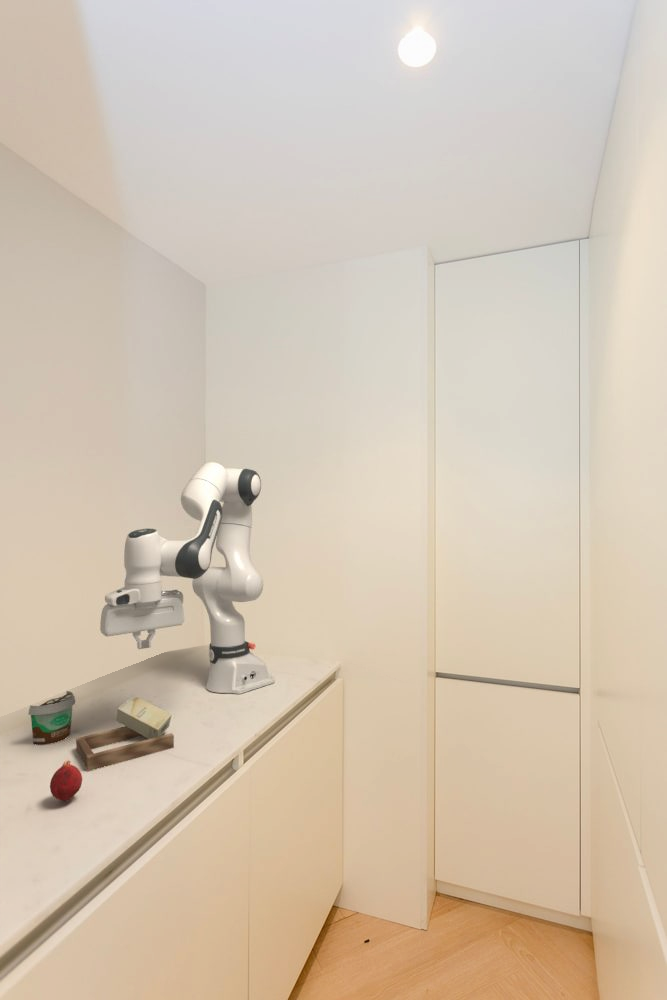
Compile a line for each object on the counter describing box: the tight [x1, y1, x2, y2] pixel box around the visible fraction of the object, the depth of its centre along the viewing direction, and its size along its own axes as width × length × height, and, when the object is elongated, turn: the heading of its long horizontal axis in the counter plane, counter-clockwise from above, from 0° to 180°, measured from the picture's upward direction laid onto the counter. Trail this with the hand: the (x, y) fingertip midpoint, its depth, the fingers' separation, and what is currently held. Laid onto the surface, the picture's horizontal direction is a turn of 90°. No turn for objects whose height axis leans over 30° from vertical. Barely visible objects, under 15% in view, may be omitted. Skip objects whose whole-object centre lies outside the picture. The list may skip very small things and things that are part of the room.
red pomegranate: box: [49, 759, 83, 802], centre depth 108 cm, size 6×6×8 cm
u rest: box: [75, 725, 175, 772], centre depth 131 cm, size 20×13×3 cm, turn 126°
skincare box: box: [115, 694, 172, 739], centre depth 137 cm, size 6×4×12 cm
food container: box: [27, 690, 76, 746], centre depth 137 cm, size 12×6×10 cm, turn 160°
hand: (144, 647), depth 136 cm, fingers closed
